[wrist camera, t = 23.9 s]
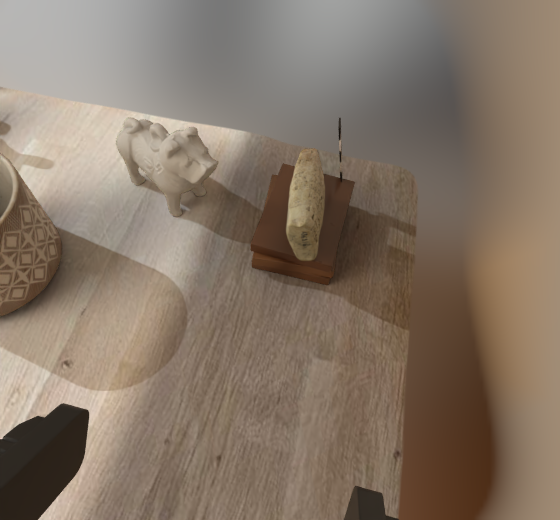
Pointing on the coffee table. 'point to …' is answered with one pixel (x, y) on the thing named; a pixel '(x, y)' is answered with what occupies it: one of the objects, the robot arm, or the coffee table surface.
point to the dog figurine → (166, 159)
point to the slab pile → (273, 239)
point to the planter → (23, 242)
